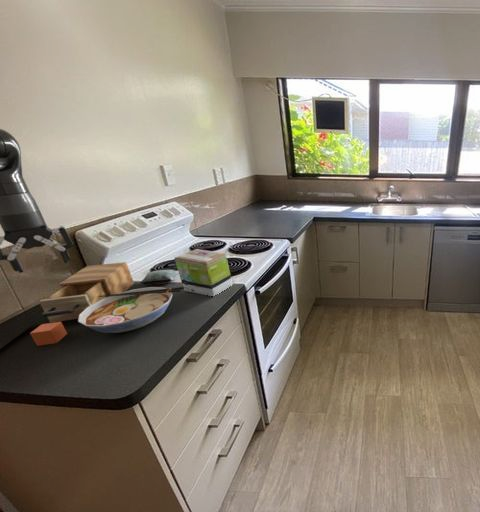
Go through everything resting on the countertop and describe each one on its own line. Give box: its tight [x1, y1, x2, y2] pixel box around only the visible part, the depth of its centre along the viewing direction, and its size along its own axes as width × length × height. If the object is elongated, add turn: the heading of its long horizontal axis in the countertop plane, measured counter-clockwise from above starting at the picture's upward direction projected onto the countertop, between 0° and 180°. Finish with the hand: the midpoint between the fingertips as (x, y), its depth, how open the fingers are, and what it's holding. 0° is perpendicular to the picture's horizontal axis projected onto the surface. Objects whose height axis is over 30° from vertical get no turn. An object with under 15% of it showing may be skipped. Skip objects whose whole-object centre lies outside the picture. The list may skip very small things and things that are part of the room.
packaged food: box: [139, 269, 179, 286], centre depth 119 cm, size 9×12×5 cm
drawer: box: [38, 281, 109, 323], centre depth 96 cm, size 19×11×8 cm, turn 18°
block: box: [29, 321, 68, 347], centre depth 84 cm, size 4×4×4 cm
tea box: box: [174, 248, 234, 298], centre depth 111 cm, size 15×10×15 cm
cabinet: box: [59, 261, 135, 297], centre depth 108 cm, size 16×13×10 cm
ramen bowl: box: [77, 286, 184, 334], centre depth 91 cm, size 25×23×8 cm
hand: (44, 267), depth 81 cm, fingers open, 8 cm apart
